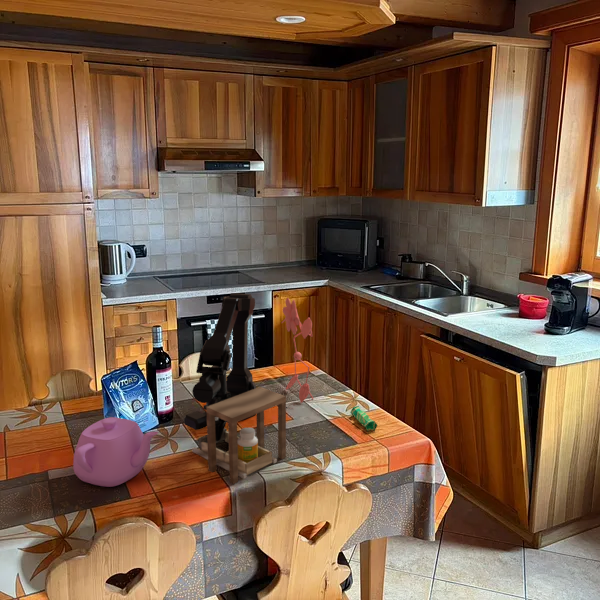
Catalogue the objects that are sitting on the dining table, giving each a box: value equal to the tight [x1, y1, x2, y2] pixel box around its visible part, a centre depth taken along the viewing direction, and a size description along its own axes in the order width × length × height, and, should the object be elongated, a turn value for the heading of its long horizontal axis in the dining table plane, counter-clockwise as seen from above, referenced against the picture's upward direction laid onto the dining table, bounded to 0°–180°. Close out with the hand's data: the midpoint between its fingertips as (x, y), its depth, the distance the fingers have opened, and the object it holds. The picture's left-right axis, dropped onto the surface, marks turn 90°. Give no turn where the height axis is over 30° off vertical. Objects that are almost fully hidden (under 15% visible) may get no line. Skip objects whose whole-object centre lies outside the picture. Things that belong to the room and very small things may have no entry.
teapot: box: [72, 416, 159, 488], centre depth 153 cm, size 23×21×15 cm
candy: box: [349, 405, 378, 432], centre depth 187 cm, size 12×3×4 cm
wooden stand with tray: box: [191, 386, 287, 485], centre depth 164 cm, size 22×19×18 cm
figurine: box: [281, 297, 314, 410], centre depth 203 cm, size 15×26×35 cm, turn 22°
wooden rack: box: [198, 427, 273, 476], centre depth 165 cm, size 20×9×4 cm, turn 47°
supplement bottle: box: [238, 427, 258, 463], centre depth 161 cm, size 5×5×10 cm
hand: (217, 440), depth 170 cm, fingers closed
